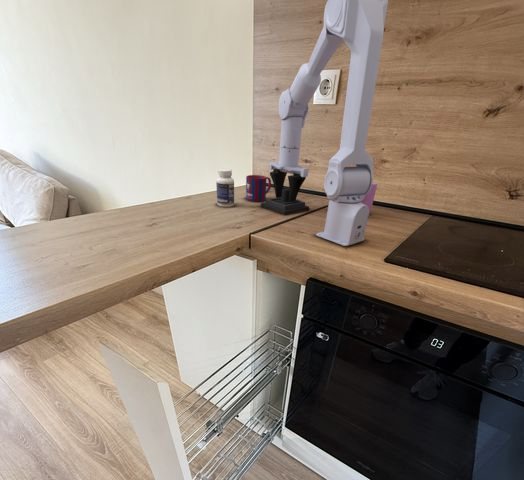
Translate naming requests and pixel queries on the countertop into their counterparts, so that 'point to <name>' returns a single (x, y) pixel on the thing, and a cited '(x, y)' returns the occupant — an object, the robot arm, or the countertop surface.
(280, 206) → the base pad
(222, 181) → the pill bottle
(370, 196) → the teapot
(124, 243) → the countertop surface
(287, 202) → the dark grey block
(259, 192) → the mug
